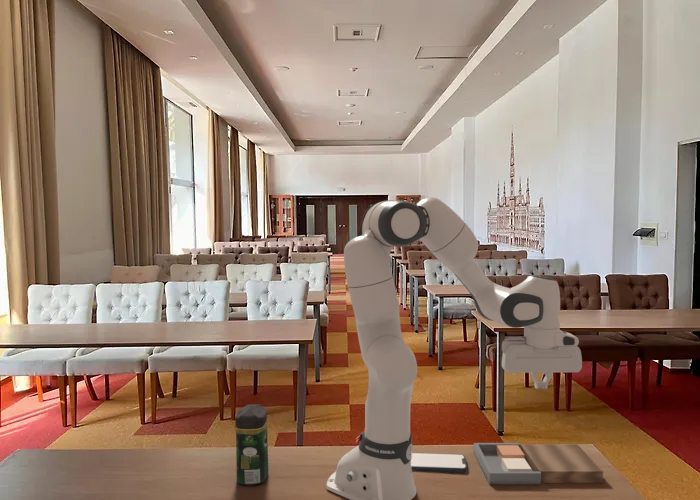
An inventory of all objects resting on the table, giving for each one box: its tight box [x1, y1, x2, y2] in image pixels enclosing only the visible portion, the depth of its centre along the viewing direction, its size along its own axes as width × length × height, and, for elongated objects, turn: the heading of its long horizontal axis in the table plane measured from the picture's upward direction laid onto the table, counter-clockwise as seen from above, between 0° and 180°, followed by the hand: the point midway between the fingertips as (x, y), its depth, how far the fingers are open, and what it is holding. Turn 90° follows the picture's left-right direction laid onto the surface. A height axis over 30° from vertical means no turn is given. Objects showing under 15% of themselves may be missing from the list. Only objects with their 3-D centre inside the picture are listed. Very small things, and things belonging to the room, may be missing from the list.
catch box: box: [473, 442, 542, 486], centre depth 146 cm, size 13×18×3 cm
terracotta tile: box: [497, 445, 525, 462], centre depth 151 cm, size 6×6×2 cm
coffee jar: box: [234, 404, 269, 487], centre depth 141 cm, size 10×8×19 cm
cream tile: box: [502, 458, 531, 471], centre depth 143 cm, size 6×6×2 cm
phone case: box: [411, 452, 468, 474], centre depth 149 cm, size 9×2×16 cm
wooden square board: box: [520, 443, 604, 484], centre depth 146 cm, size 16×16×3 cm
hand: (540, 388), depth 144 cm, fingers closed
